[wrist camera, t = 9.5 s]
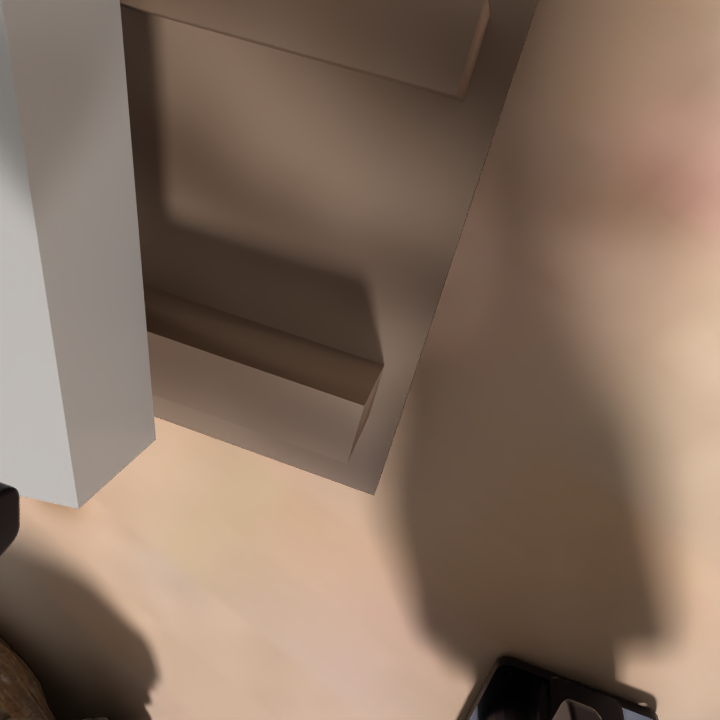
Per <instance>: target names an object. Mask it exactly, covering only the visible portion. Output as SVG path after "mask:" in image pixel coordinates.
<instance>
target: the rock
mask: <svg viewBox="0 0 720 720" xmlns="http://www.w3.org/2000/svg"><path fill="white" fill-rule="evenodd" d="M0 720H56V718H55V717H54V715H53V714H52V712H51V711H50V709H49V708H48V705H47V703H46V700H45V697H44V694H43V691H42V688H41V685H40V682H39V680H38V679H37V678H36V676H35V675H34V674H33V673H32V671H31V670H30V669H29V668H28V666H27V665H26V664H25V663H24V661H23V660H22V659H21V658H20V657H19V656H18V655H17V654H16V653H15V652H14V650H13V649H12V648H11V647H10V646H9V645H8V644H7V643H6V642H5V641H4V640H3V639H2V638H0ZM83 720H107V718H106V717H100V718H88V719H83Z"/></svg>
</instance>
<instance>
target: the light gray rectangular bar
mask: <svg viewBox="0 0 720 720" xmlns="http://www.w3.org/2000/svg"><path fill="white" fill-rule="evenodd" d="M155 440H156V436H155V424H154V412H153V400H152V387H151V375H150V363H149V351H148V339H147V326H146V314H145V302H144V290H143V278H142V265H141V253H140V241H139V229H138V217H137V204H136V192H135V180H134V168H133V156H132V144H131V131H130V119H129V107H128V95H127V83H126V70H125V58H124V46H123V34H122V22H121V9H120V0H0V482H2V483H4V484H7V485H10V486H12V487H15V488H16V489H17V490H18V492H19V496H23V497H28V498H32V499H37V500H41V501H45V502H50V503H54V504H59V505H63V506H68V507H72V508H77V509H79V508H80V507H81V506H82V505H84V504H85V503H86V502H87V501H88V500H89V499H90V498H91V497H92V496H94V495H95V494H96V493H97V492H98V491H99V490H100V489H101V488H102V487H104V486H105V485H106V484H107V483H108V482H109V481H110V480H111V479H112V478H114V477H115V476H116V475H117V474H118V473H119V472H120V471H121V470H122V469H123V468H125V467H126V466H127V465H128V464H129V463H130V462H131V461H132V460H133V459H135V458H136V457H137V456H138V455H139V454H140V453H141V452H142V451H143V450H145V449H146V448H147V447H148V446H149V445H150V444H151V443H152V442H153V441H155Z"/></svg>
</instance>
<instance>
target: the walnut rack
mask: <svg viewBox="0 0 720 720" xmlns="http://www.w3.org/2000/svg"><path fill="white" fill-rule="evenodd" d="M537 2H538V0H120V9H121V22H122V34H123V46H124V58H125V70H126V83H127V95H128V107H129V119H130V131H131V144H132V156H133V168H134V180H135V192H136V204H137V217H138V229H139V241H140V253H141V265H142V278H143V290H144V302H145V314H146V326H147V339H148V351H149V363H150V375H151V387H152V400H153V412H154V416H155V417H157V418H160V419H163V420H166V421H169V422H171V423H174V424H177V425H180V426H182V427H185V428H188V429H191V430H194V431H196V432H199V433H202V434H205V435H207V436H210V437H213V438H216V439H219V440H221V441H224V442H227V443H230V444H232V445H235V446H238V447H241V448H244V449H246V450H249V451H252V452H255V453H257V454H260V455H263V456H266V457H269V458H271V459H274V460H277V461H280V462H282V463H285V464H288V465H291V466H293V467H296V468H299V469H302V470H305V471H307V472H310V473H313V474H316V475H318V476H321V477H324V478H327V479H330V480H332V481H335V482H338V483H341V484H343V485H346V486H349V487H352V488H355V489H357V490H360V491H363V492H366V493H368V494H371V495H374V494H375V491H376V488H377V485H378V483H379V480H380V477H381V474H382V471H383V468H384V465H385V461H386V458H387V455H388V452H389V449H390V446H391V443H392V440H393V437H394V434H395V431H396V428H397V425H398V422H399V419H400V416H401V413H402V410H403V407H404V404H405V401H406V398H407V395H408V392H409V389H410V386H411V383H412V380H413V377H414V374H415V371H416V368H417V365H418V362H419V359H420V356H421V353H422V350H423V347H424V344H425V341H426V338H427V335H428V331H429V328H430V325H431V322H432V319H433V316H434V313H435V310H436V307H437V304H438V301H439V298H440V295H441V292H442V289H443V286H444V283H445V280H446V277H447V274H448V271H449V268H450V265H451V262H452V259H453V256H454V253H455V250H456V247H457V244H458V241H459V238H460V235H461V232H462V229H463V226H464V223H465V220H466V217H467V214H468V211H469V208H470V204H471V201H472V198H473V195H474V192H475V189H476V186H477V183H478V180H479V177H480V174H481V171H482V168H483V165H484V162H485V159H486V156H487V153H488V150H489V147H490V144H491V141H492V138H493V135H494V132H495V129H496V126H497V123H498V120H499V117H500V114H501V111H502V108H503V105H504V102H505V99H506V96H507V93H508V90H509V87H510V84H511V81H512V78H513V74H514V71H515V68H516V65H517V62H518V59H519V56H520V53H521V50H522V47H523V44H524V41H525V38H526V35H527V32H528V29H529V26H530V23H531V20H532V17H533V14H534V11H535V8H536V5H537Z"/></svg>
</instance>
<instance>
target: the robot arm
mask: <svg viewBox="0 0 720 720" xmlns="http://www.w3.org/2000/svg"><path fill="white" fill-rule="evenodd" d="M19 526H20V508H19V492H18V490H17V489H16V488H15V487H12V486H10V485H7V484H4V483H2V482H0V556H1V555H2V554H3V553H4V551H5V550H6V549H7V548H8V547H9V546H10V544H11V543H12V542H13V541H14V539H15V537H16V536H17V533H18V531H19ZM506 669H509V670H506ZM465 720H658V716H657V714H656V713H655V712H653V711H652V710H650V709H647V708H644V707H642V706H639V705H637V704H634V703H631V702H629V701H626V700H624V699H621V698H618V697H616V696H613V695H610V694H608V693H605V692H603V691H600V690H597V689H595V688H592V687H589V686H587V685H584V684H582V683H579V682H576V681H574V680H571V679H568V678H566V677H563V676H561V675H558V674H555V673H553V672H550V671H547V670H545V669H542V668H540V667H537V666H534V665H532V664H529V663H527V662H524V661H521V660H519V659H516V658H513V657H509V656H503V657H500V658H498V660H497V661H496V662H495V664H494V666H493V668H492V670H491V672H490V674H489V676H488V678H487V679H486V681H485V683H484V685H483V687H482V689H481V691H480V693H479V695H478V696H477V698H476V700H475V702H474V704H473V706H472V708H471V710H470V712H469V713H468V715H467V717H466V719H465Z"/></svg>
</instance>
